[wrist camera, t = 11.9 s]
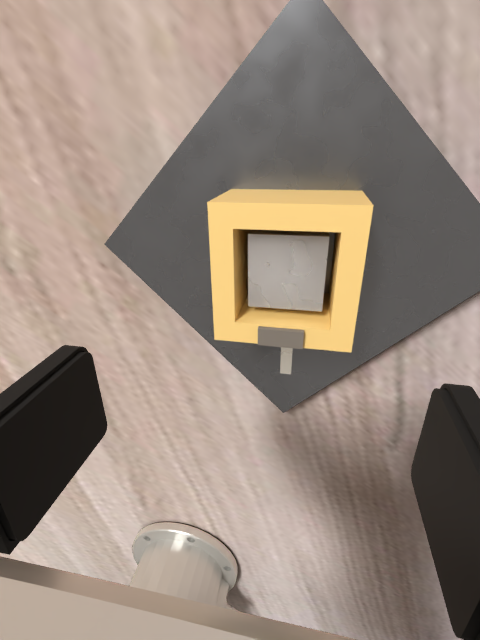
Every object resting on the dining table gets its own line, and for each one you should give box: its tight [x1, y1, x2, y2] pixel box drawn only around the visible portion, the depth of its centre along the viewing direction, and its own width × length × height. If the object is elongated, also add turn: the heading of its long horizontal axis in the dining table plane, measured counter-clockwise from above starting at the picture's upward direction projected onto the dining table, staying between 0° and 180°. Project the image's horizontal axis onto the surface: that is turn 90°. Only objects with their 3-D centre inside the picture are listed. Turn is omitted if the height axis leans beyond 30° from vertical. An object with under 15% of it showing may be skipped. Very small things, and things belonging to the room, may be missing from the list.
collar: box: [207, 189, 374, 352], centre depth 20 cm, size 7×7×5 cm
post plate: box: [105, 0, 480, 413], centre depth 21 cm, size 18×18×6 cm
